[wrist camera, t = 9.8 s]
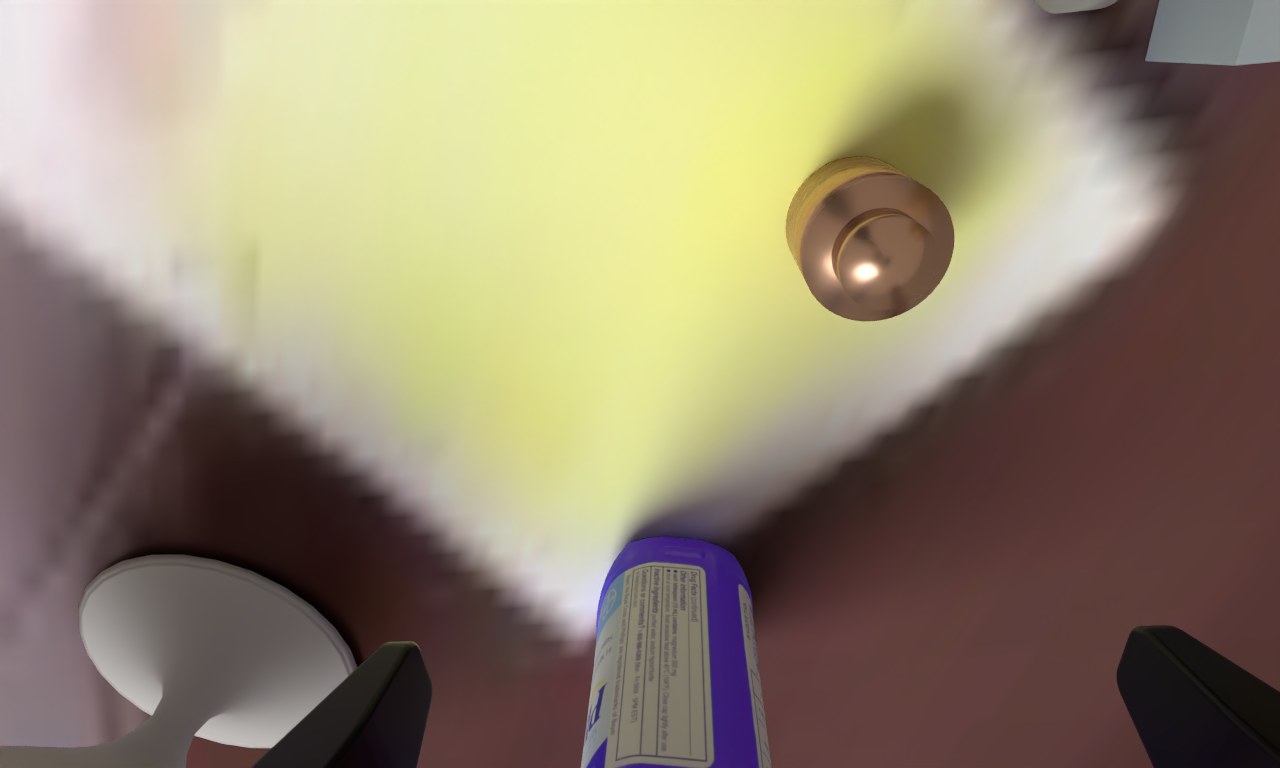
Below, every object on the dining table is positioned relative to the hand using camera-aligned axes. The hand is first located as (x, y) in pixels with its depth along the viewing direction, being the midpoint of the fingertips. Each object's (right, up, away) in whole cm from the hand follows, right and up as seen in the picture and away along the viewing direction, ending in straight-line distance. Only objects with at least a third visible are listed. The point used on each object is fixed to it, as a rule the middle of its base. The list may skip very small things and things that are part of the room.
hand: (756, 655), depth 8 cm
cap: (+4, +8, +10) cm, 14 cm away
